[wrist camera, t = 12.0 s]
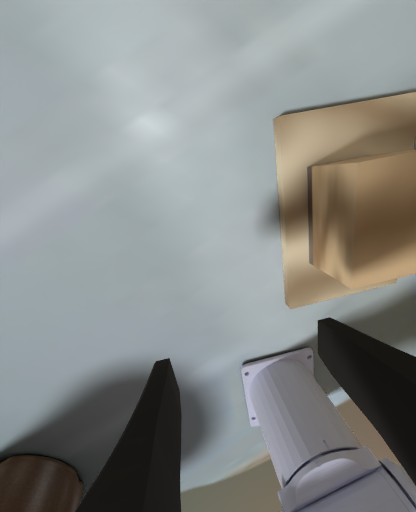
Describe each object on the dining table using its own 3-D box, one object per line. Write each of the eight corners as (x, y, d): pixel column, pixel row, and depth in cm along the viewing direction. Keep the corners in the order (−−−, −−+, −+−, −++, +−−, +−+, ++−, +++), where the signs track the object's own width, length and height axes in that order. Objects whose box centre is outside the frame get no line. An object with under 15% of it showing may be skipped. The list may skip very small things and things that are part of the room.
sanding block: (361, 251, 20) (418, 272, 15) (309, 263, 20) (351, 289, 15) (367, 155, 17) (439, 146, 13) (307, 167, 17) (358, 162, 12)
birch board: (387, 278, 23) (396, 282, 22) (285, 303, 22) (290, 309, 21) (408, 95, 17) (422, 90, 16) (273, 119, 16) (279, 115, 15)
